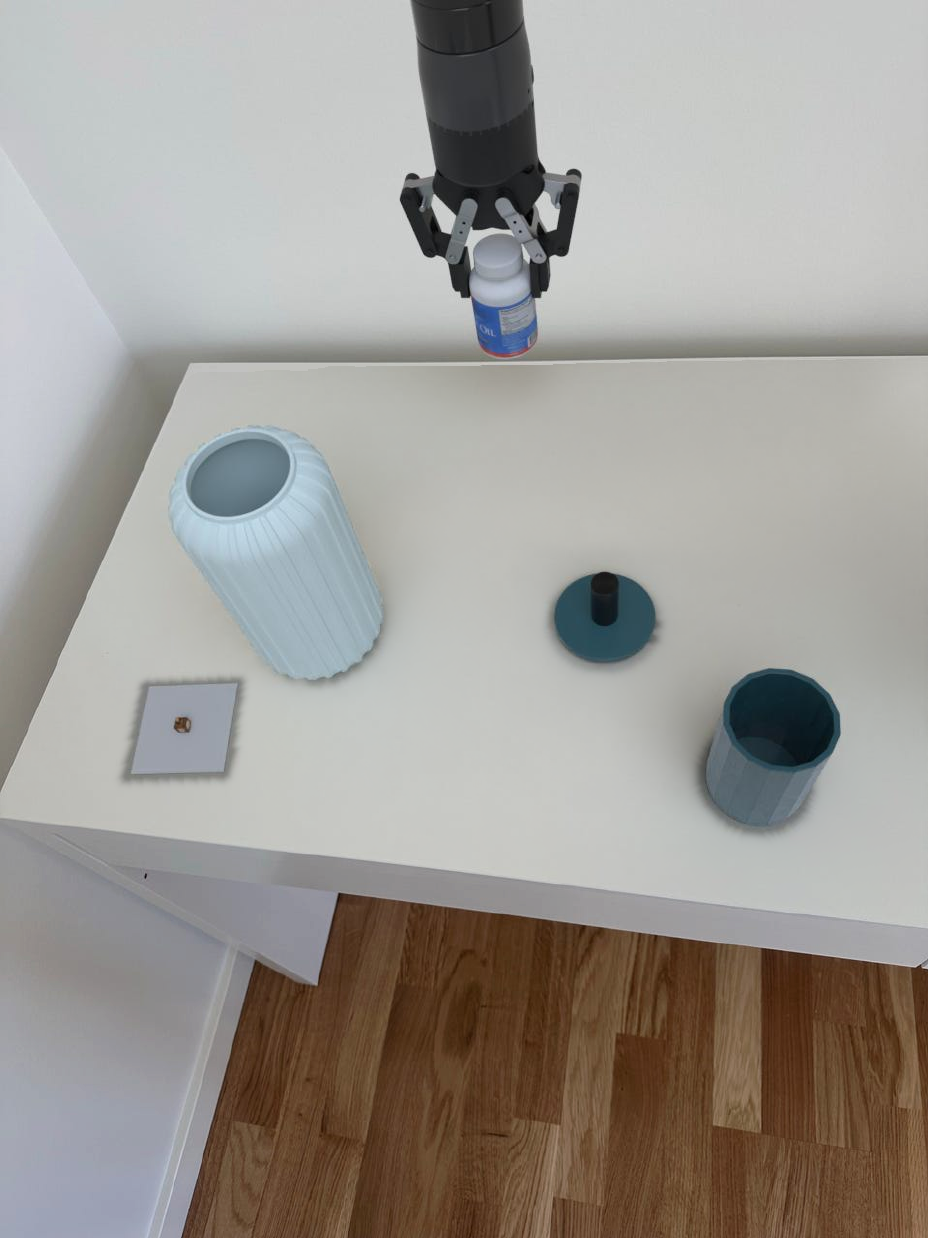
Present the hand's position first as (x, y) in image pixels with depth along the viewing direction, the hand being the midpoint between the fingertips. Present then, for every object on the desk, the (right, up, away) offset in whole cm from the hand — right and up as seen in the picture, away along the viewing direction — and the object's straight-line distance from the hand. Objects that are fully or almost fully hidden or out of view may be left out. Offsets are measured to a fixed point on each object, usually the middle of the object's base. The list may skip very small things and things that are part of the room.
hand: (502, 290), depth 77 cm
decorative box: (-27, -37, 0) cm, 46 cm away
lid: (+8, -28, -1) cm, 29 cm away
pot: (+19, -40, -8) cm, 45 cm away
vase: (-15, -29, +3) cm, 33 cm away
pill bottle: (+1, -3, +5) cm, 6 cm away
